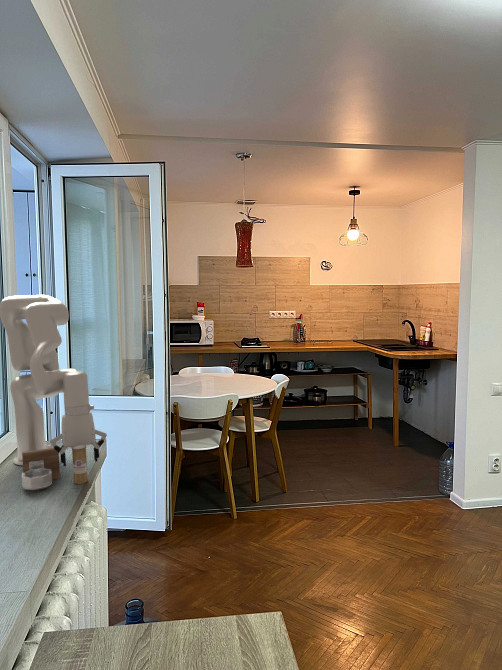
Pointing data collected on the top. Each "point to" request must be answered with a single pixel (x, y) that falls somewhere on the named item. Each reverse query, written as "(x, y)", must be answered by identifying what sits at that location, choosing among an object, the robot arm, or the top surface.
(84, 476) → the sprinkles bottle
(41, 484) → the cup bracket
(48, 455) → the mount board
